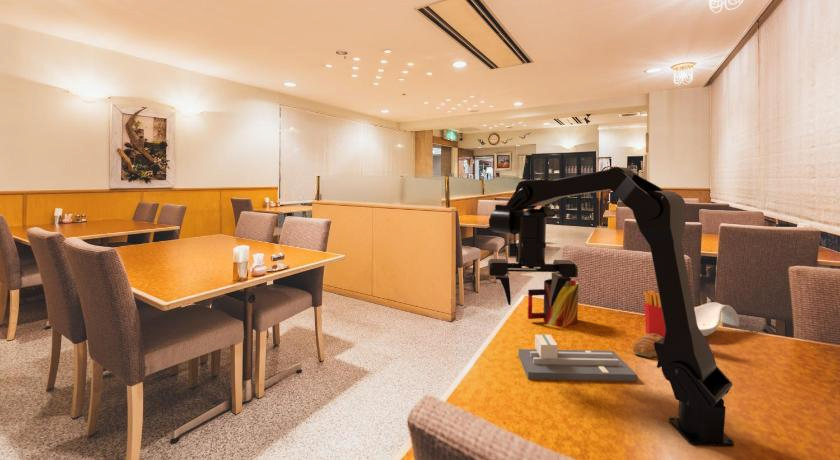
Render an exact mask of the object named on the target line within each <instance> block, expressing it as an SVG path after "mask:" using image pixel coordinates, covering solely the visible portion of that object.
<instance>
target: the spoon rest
mask: <svg viewBox="0 0 840 460" xmlns="http://www.w3.org/2000/svg"><path fill="white" fill-rule="evenodd" d="M694 310H695V315H696V321H697V325H698V328H699V330H700V331H701V333H702V334H703V336H705V337H706V336H709V335H711V334H713V333H714V332H715V331H716V330H717V329H718V327H719V324H720V322H721V323H723V324H725V325H731V326H733V327H739V326H740V319H739V316H738V313H737V311H736V310H735V309H734V308H733V307H732V306H731V305H728V304H721V303H719V302H715V301H713V302H707V303H704V304H702V305H698V306H695V307H694ZM703 324H705V325H703Z"/></svg>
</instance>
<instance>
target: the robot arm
mask: <svg viewBox="0 0 840 460" xmlns="http://www.w3.org/2000/svg"><path fill="white" fill-rule="evenodd" d="M607 191H612V192H613V193H614V194H615V196H616V197H617V198H618V199H619V200H620V202H621V203H622V204H623V205H625V206H626V207H627V208H629V209H630V210H631V211H632V215H633V218H634V219H635V222H636V225H637V228H638V230H639V232H640V234H641V235H642V237H643V238H644V240H645V241H646V242H647V244H648V245H649V249H650V253H651V259H652V263H653V269H654V274H655V278H656V279H655V280H656V284H657V285H656V286H657V291H658V293H659V297H660V302H661V308H662V313H663V318H664V324H665V336H664V337H663V338H661V339H660V340H658V341H656V342H655V343H654V348H655V351H656V354H657V356H656V357H657V364H656V368H658V369H660V368H661V372H662V375H663V376H664V378H665V380H666V381H668V382H669V383H670V386H671V390H672V392H673V395H674V398H675V400H676V401H678V409H677V410H678V412H677V416H678V417H668V422H669V423H670V424H671V425H672V426H673V427H674V428H675V430H676V431H678V433H679V434H680V435H681V436H682V437H683V438H684V440H686V441H687V442H688V443H689V444H691V445H697V446H699V445H702V446H730V447H731V446H733V447H734V444H735V442H734V441H733V440H732V439H731V438H730V437H729V436H728V435H727V434H726V433H725V423H726V406H725V399H723V398H724V396H726V395H727V394H728V393H729V391H730V390H731V388H732V387H733V382H732V381H731V380H730V379H729V378H728V377H727V376H726V375H725V374H724V372H723V371H722V370H721V369H720V368H719V367H718V366H717V361H716V358H715V357H714V353H713V351H712V348H711V345H710V344H709V341H708V340H707V338H706V336H705V337H704V336H703V334H702V333H701V331H700V330H699V328H698V325H697V321H696V315H695V310H694V308H695V307H694V301H693V295H692V294H693V293H692V290H691V285H690V279H689V275H688V269H687V265H686V264H687V263H686V259H685V253H684V249H683V247H684V246H683V236H684V232H685V227H686V217H687V216H686V209H687V208H686V207H687V206H686V201H685V200H684V198H683V197H682V195H680V194H679V193H677V192H675V191H672V190H664V189H662V187H660V186H658V185H656V184H655V183H653V182H650V181H649V180H648V179H645V178H644V177H642V176H640V175H639V174H637V173H636V172H635V171H633V170H632V169H631V168H629V167H624V166H623V167H621V166H616V167H615V166H613V167H610V168H608V169H604V170H599V171H594V172H589V173H583V174H578V175H572V176H567V177H563V178H556V179H522V180H520V181H518V182H517V185H516V188H515V191H514V193H513V194H512V196H511V197H510V199H509V201H508V202H507V203H506V204H504V203H503V204H501V203H500V204H498V203H497V204H495V206H494V208H495V209H494V210H493V211H492V212H491V214H490V217H489V218H488V225H489V228H490V230H491V232H493V233H498V234H506V235H507V234H508V235H514V236H515V235H517V234H518V245H517V243H508V245H507V258H510V259H511V258H513V259H515V262H514V263H513V262H508V261H507V260H506V259H505V258H490V259H489V260H488V262H487V271H488V274H489V276H492V277H494V279H495V280H497V281H498V280H499V281H500V284H501V285H502V288H503V291H504V294H505V298H506V301H507V304H508V306H511V303H512V300H511V299H512V298H511V297H512V296H511V285H510V284H511V283H510V276H509V275H508V272H518V273H519V272H524V273H525V272H529V273H532V272H533V273H551V279H552V283H551V291H550V306H553V304H554V302H555V300H556V298H557V296H558V294H559V292H560V290H561V289H562V287H563V286H564V284H565V283H566V282H567V281H571V280H572V278H578V275H579V269H578V265H576V264H575V262H573V261H572V260H570V259H554V260H553V263H546V260H545V259H546V247H547V245H546V244H547V243H546V234H547V233H546V231H547V218H555V217H556V213H555V212H554V211H553V210H552V209H551V208H550V207H549V206H548V204H551V203H555V202H556V201H558V200H561V199H563V198H567V197H573V196H579V195H586V194H591V193H592V194H594V193H599V192H607ZM539 206H540V207H539ZM537 207H539V208H537ZM525 210H526V211H525Z"/></svg>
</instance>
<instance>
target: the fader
mask: <svg viewBox="0 0 840 460" xmlns="http://www.w3.org/2000/svg"><path fill="white" fill-rule="evenodd" d="M558 347H559V346H558V343H557V342H556V340H555V339H554V338H553V336H552V335H551V334H534V349H536V350H537V352H538V354H539V356H540V358H554V359H557V355H558V350H559V349H558Z"/></svg>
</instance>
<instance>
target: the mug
mask: <svg viewBox="0 0 840 460" xmlns="http://www.w3.org/2000/svg"><path fill="white" fill-rule="evenodd" d="M551 283H552V278H548V279H545V280H544V281H543V288H538V289H533V288H532V289H528V292H527V294H528V295H527V296H528V297H527V304H528V305H527V319H528V320H533V319H534V320H535V319H538V320H539V319H542V320H543V322H544V323H546V324H548V325H550V326H555V327H562V328H565V327H566V328H567V327H568V328H569V327H574V326H577V325H578V313H579V312H578V311H579V310H578V308H579V307H578V306H579V304H578V303H579V282H578V281H576V280H572V279H571V281H567V282H566V283H565V284H564V286H563V287H562V289H561V290H560V292H559V294H558V296H557V298H556V300H555V302H554V304H553V306H550V291H551ZM533 296H543V312H533Z"/></svg>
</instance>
